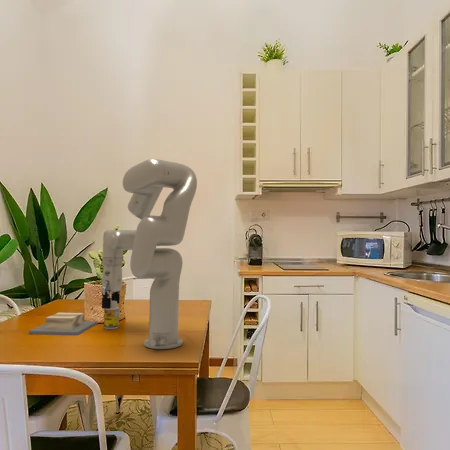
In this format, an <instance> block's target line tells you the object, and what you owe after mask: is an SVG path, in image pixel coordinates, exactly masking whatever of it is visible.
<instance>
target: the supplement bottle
mask: <svg viewBox="0 0 450 450" xmlns="http://www.w3.org/2000/svg"><path fill="white" fill-rule="evenodd" d="M103 311H104V313H103V315H104V316H103V327H104V329H106V330H116V329H118V328H119V327H120V306H119V305H118V304H117V301H111V308H110V309H104V310H103Z"/></svg>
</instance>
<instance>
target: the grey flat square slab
mask: <svg viewBox="0 0 450 450" xmlns="http://www.w3.org/2000/svg"><path fill="white" fill-rule="evenodd" d="M45 324H46V323H43V324H42V325H40V326H37V327H35V328H32V329H31V330H28V335H58V336H79V335H81V334H82V333H84V332H85V331H87V330H89V329H91V328H93V327H94V326H97V325H98V321H96V320H95V321H93V320H84V323H83V324H81V325H79V326H77V327H75V328H73V329H45Z"/></svg>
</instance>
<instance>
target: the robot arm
mask: <svg viewBox="0 0 450 450" xmlns="http://www.w3.org/2000/svg"><path fill="white" fill-rule="evenodd" d="M197 186H198V180H197V175H196V173H195V171H194V170H193V169H192V168H191V167H189V166H188V165H185V164H183V163H179V162H174V161H169V160H163V159H158V158H148V159H146V160H143V161H141V162H139V163H137V164H135V165H133V166H131V167H130V168H129V169H128V170H127V171H126V172H125V173H124V175H123V178H122V187H123V190H124V191H125V192H127V193H130V194H132V195H131V197H130V199H129V201H128V203H127V209H128V211H129V212H130V213H131V214H132V215H133V216H134V217H136V218H138V219H139V220H140V221H139V222H138V224H137V227H136V230H133V229H132V230H131V229H130V230H129V229H127V230H126V229H118V230H117V229H115V230H113V229H106V230H105V231H103V236H102V237H103V238H102V239H103V240H102V242H103V243H102V259H101V260H102V263H101V264H102V266H103V270H102V279H101V280H102V281H101V309H110V308H111V301H117V305H118V304H120V295H121V290H122V289H123V269H122V266H123V260H124V259H123V257H124V251H131V256H130V265H129V266H130V271H131V274H132V275H133V276H134V277H135V278H136V279H140V280H141V279H142V280H145V279H146V280H147V279H154V280H153V281H152V283H151V286H150V289H149V313H148V314H149V316H148V318H149V321H148V338H146V339H144V341H143V345H144V347H146V348H149V349H152V350H171V349H175V348H178V347H181V346H183V344H184V343H183V342H184V341H183V339H182V338H181V337H179V303H180V302H179V300H180V299H179V298H180V297H179V296H180V279H181V274H182V269H183V257H182V255H181V253H180V252H179V250H176V249H173V248H171V247H170V246H177V245H179V244H181V243H182V242H183V239H184V237H185V234H186V233H185V232H186V229H187V225H188V224H187V223H188V219H189V214H190V210H191V206H192V202H193V200H194V197H195V195H196V192H197V189H198V188H197ZM164 188H166V189H167V188H168V189H173V190H172V191H171V192H169V194H168V195H167V196H166V198H165V200H164V202H163V207H162V212H161V215H151V213H152V212H153V208H154V207H155V205H156V203H157V201H158V199H159V197H160V195H161V193H162V191H163V189H164ZM161 246H162V247H161ZM164 246H167V247H164ZM168 246H169V247H170V248H168Z"/></svg>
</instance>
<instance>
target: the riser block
mask: <svg viewBox="0 0 450 450" xmlns="http://www.w3.org/2000/svg"><path fill="white" fill-rule="evenodd" d="M84 314H85V313H84V312H59V311H58V312H57V313H54V314H52V315H49V316H47V317H45V323H44V324H45V329H73V328H75V327H77V326H79V325H81V324H83V323H84V321H85V320H84V317H85V315H84Z"/></svg>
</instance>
